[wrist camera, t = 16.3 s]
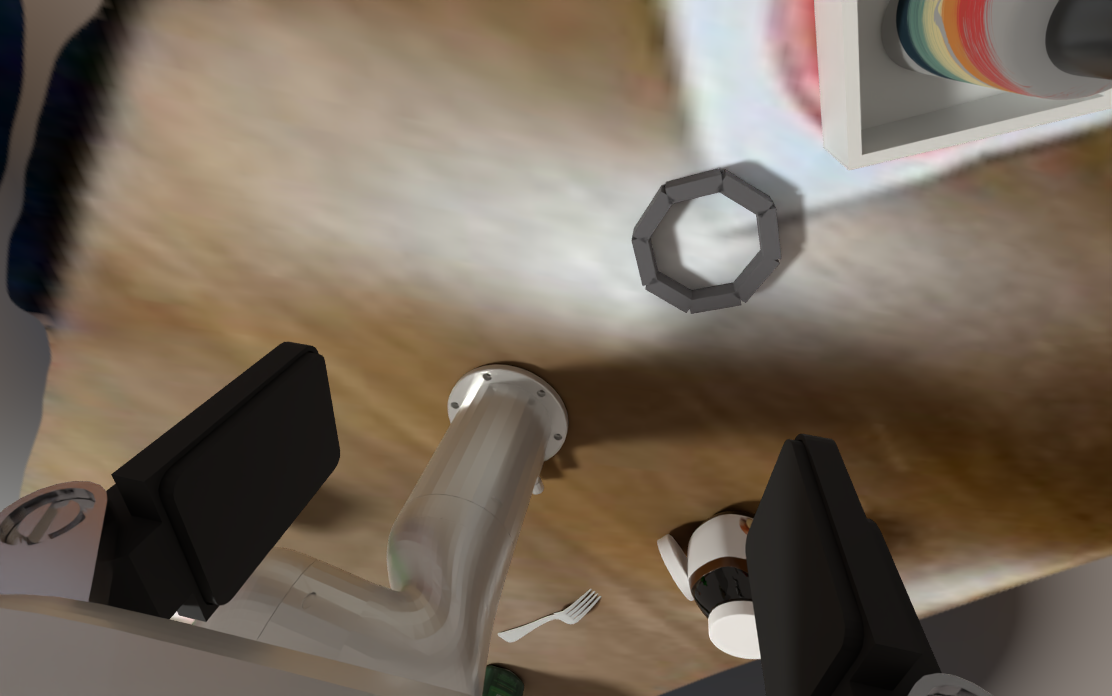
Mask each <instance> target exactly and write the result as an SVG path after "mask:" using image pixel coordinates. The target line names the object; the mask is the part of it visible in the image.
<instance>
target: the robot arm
mask: <svg viewBox="0 0 1112 696" xmlns="http://www.w3.org/2000/svg"><path fill="white" fill-rule="evenodd" d="M448 415H449V419H450V423H451V424H450V426H449V428H448V430H447V431H446V433H445V435H444V437H443V438H442V440H441V442H440V444H439V445H438V447H437V449H436V451H435V452H434V454H433V456H432V458H431V459H430V461H429V463H428V465H427V466H426V468H425V470H424V472H423V473H422V475H421V477H420V479H419V480H418V482H417V484H416V486H415V487H414V489H413V491H412V493H411V494H410V496H409V498H408V500H407V501H406V503H405V505H404V507H403V508H402V510H401V511H400V513H399V515H398V517H397V519H396V520H395V522H394V525H393V527H392V529H391V533H390V536H389V539H388V546H387V569H388V576H389V582H390V587H391V589H389V588H386V587H384V586H381V585H379V586H378V585H376V584H374V583H372V582H369V581H367V580H365V579H362V578H360V577H358V576H355V575H353V574H351V573H349V572H346V571H344V570H342V569H339V568H337V567H335V566H332V565H330V564H328V563H325V562H323V561H321V560H317V559H315V558H313V557H311V556H308V555H306V554H303V553H300V552H297V551H295V550H291V549H287V548H280V547H274V545H275V544H276V543H277V542H278V540H279V539H280V538H281V537H282V535H283V534H284V533H285V531H286V530H287V529H288V528H289V526H290V525H291V524H292V523H293V521H294V520H295V519H296V517H297V516H298V515H299V514H300V512H301V511H302V510H303V509H304V507H305V506H306V505H307V504H308V502H309V501H310V500H311V498H312V497H313V496H314V495H315V493H316V492H317V491H318V490H319V488H320V487H321V486H322V485H323V483H324V482H325V481H326V479H327V478H328V477H329V476H330V474H331V473H332V472H333V471H334V469H335V468H336V466H337V464H338V462H339V458H340V447H339V441H338V435H337V429H336V424H335V418H334V412H333V406H332V400H331V394H330V388H329V382H328V376H327V370H326V364H325V360H324V357H323V356H322V355H320V354H318V351H317V349H316V348H315V347H313V346H310V345H304V344H299V343H293V342H283V343H281V344H280V345H278V346H277V347H276V348H275V349H273V350H272V351H271V352H269V353H268V354H267V355H266V356H264V357H263V358H262V359H260V360H259V361H258V362H256V363H255V364H254V365H253V366H251V367H250V368H249V369H247V370H246V371H245V372H243V373H242V374H241V375H240V376H238V377H237V378H236V379H234V380H233V381H232V382H231V383H229V384H228V385H227V386H225V387H224V388H223V389H221V390H220V391H219V392H218V393H216V394H215V395H214V396H212V397H211V398H210V399H208V400H207V401H206V402H205V403H203V404H202V405H201V406H199V407H198V408H197V409H196V410H194V411H193V412H192V413H190V414H189V415H188V416H186V417H185V418H184V419H183V420H181V421H180V422H179V423H177V424H176V425H175V426H173V427H172V428H171V429H170V430H168V431H167V432H166V433H164V434H163V435H162V436H161V437H159V438H158V439H157V440H155V441H154V442H153V443H151V444H150V445H149V446H148V447H146V448H145V449H144V450H142V451H141V452H140V453H138V454H137V455H136V456H135V457H133V458H132V459H131V460H129V461H128V462H127V463H126V464H124V465H123V466H122V467H120V468H119V469H118V470H116V471H115V472H114V473H113V474H111V475H112V477H113V479H114V481H115V483H116V484H115V485H113V486H112V487H111V488H110V489H108V490H107V491H106V490H105V489H104V488H103V487H102V486H101V485H99V484H95V483H92V482H89V481H72V482H66V483H60V484H56V485H52V486H49V487H46V488H43V489H39V490H37V491H35V492H33V493H31V494H29V495H26V496H24V497H22V498H20V499H19V500H17V501H16V502H14V503H12V504H11V505H9V506H8V507H6V508H5V509H4V510H3V511H2V512H0V696H482V692H483V686H484V679H485V672H486V665H487V658H488V652H489V645H490V639H491V634H492V629H493V624H494V620H495V616H496V612H497V608H498V603H499V600H500V596H501V593H502V589H503V586H504V582H505V579H506V575H507V572H508V569H509V566H510V563H511V559H512V556H513V552H514V549H515V546H516V543H517V540H518V537H519V533H520V530H521V527H522V524H523V521H524V517H525V514H526V511H527V508H528V505H529V502H530V498H531V495H532V493H533V494H540V493H541V492H543V490H544V485H543V483H542V481H541V478H540V477H539V475H540V472H541V469H542V466H543V462H544V461H546V460H548V459H550V458H551V457H553V456H554V455H555V454H556V453H557V452H558V451H559V450H560V449H561V447H562V445H563V443H564V441H565V438H566V435H567V432H568V423H569V422H568V414H567V411H566V408H565V405H564V403H563V401H562V400H561V398H560V396H559V395H558V393H557V392H556V391H555V390H554V389H553V388H552V387H551V386H550V385H549V384H548V383H547V382H545V381H544V380H543V379H542V378H540V377H538V376H537V375H535V374H533V373H531V372H529V371H526V370H524V369H521V368H518V367H514V366H509V365H497V364H494V365H486V366H482V367H478V368H475V369H473V370H471V371H469V372H468V373H466V374H465V375H464V376H463V377H461V378H460V379H459V380H458V382H457V383H456V385H455V386H454V388H453V390H452V392H451V394H450V396H449V400H448ZM745 553H746V561H747V568H748V574H749V581H750V588H751V595H752V602H753V609H754V615H755V622H756V629H757V636H758V643H759V650H760V657H761V663H762V670H763V676H764V683H765V691H766V696H993V695H991V694H990V693H988V692H986V691H985V690H983V689H982V688H980V687H979V686H977V685H976V684H974V683H972V682H969V681H967V680H964V679H962V678H959V677H957V676H954V675H948V674H942V673H941V671H940V668H939V666H938V664H937V661H936V659H935V657H934V654H933V652H932V650H931V647H930V645H929V643H928V640H927V638H926V636H925V633H924V631H923V629H922V626H921V624H920V622H919V619H918V617H917V615H916V612H915V610H914V608H913V605H912V603H911V601H910V598H909V596H908V594H907V591H906V589H905V587H904V584H903V582H902V580H901V577H900V575H899V573H898V570H897V568H896V566H895V563H894V561H893V559H892V556H891V554H890V552H889V549H888V547H887V545H886V542H885V540H884V538H883V536H882V533H881V531H880V529H879V528H878V526H877V524H876V523H875V522H874V521H872V520H871V519H867V518H866V515H865V513H864V511H863V508H862V506H861V503H860V501H859V498H858V496H857V494H856V491H855V489H854V486H853V484H852V481H851V479H850V477H849V474H848V472H847V469H846V467H845V464H844V462H843V460H842V457H841V455H840V452H839V450H838V447H837V445H836V443H835V442H834V440H832V439H828V438H823V437H817V436H811V435H806V434H799V435H798V436H797V437H796V438H795V440H790V439H788V440H786V441H785V443H784V445H783V447H782V449H781V452H780V454H779V457H778V459H777V462H776V464H775V467H774V469H773V472H772V474H771V477H770V479H769V482H768V484H767V487H766V489H765V492H764V494H763V497H762V499H761V502H760V504H759V507H758V509H757V512H756V514H755V516H754V519H753V521H752V524H751V526H750V529H749V531H748V534H747V538H746V544H745ZM176 611H177V612H178V614H179V615H180V616H184V617H188V618H192V619H195V620H194V622H193V624H192V625H191V624H187V623H182V622H178V621H174V620H169V619H170V618H171V617H172V616H173V615H174V614H175V613H176Z"/></svg>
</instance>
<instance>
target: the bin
mask: <svg viewBox="0 0 1112 696" xmlns="http://www.w3.org/2000/svg"><path fill="white" fill-rule="evenodd" d="M889 1H890V0H814V8H815V24H816V40H817V56H818V72H819V88H820V104H821V119H822V135H823V148H824V149H825V150H826V151H827V152H828V153H830V154H831V155H832V156H833V157H834V158H835V159H836V160H838V161H839V162H840V163H841V164H842V165H843V166H844V167H846V168H847V169H848V170H853V169H857V168H861V167H866V166H870V165H874V164H878V163H882V162H887V161H891V160H895V159H899V158H904V157H908V156H912V155H916V154H920V153H925V152H929V151H933V150H937V149H942V148H946V147H950V146H954V145H959V144H963V143H967V142H971V141H975V140H980V139H984V138H988V137H992V136H997V135H1001V134H1005V133H1009V132H1013V131H1018V130H1022V129H1026V128H1030V127H1035V126H1039V125H1043V124H1047V123H1052V122H1056V121H1060V120H1064V119H1068V118H1073V117H1077V116H1081V115H1085V114H1090V113H1094V112H1098V111H1102V110H1106V109H1111V108H1112V88H1111V89H1109V90H1107V91H1104V92H1101V93H1098V94H1095V95H1092V96H1088V97H1083V98H1078V99H1068V100H1052V99H1043V98H1038V97H1032V96H1027V95H1022V94H1017V93H1012V92H1007V91H1003V90H998V89H993V88H989V87H984V86H979V85H974V84H970V83H965V82H960V81H956V80H951V79H946V78H942V77H937V76H932V75H927V74H923V73H918V72H914V71H911V70H908V69H905V68H902V67H900V66H899V65H897V64H896V63H894V62H893V61H892V60H891V59H890V58H889V56H888V55H887V54H886V52H885V50H884V47H883V44H882V39H881V24H882V19H883V15H884V12H885V10H886V7H887V5H888V3H889Z"/></svg>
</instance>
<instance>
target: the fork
mask: <svg viewBox="0 0 1112 696" xmlns="http://www.w3.org/2000/svg"><path fill="white" fill-rule="evenodd" d="M591 590H592V589H590V590H588V591H587V592H586V593H585V594H584V595H583V596H581V597H580V598H579V599H578V600H577V601H575V602H574V603H573V604H572V605H571V606H569V607H568V608H566V609H565V610H564V611H561V612H558V613H553V614H554V615H550V616H547V617H544V618H542V619H539V620H537V621H535V622H532V623H529V624H527V625H524V626H521V627H518V628H515V629H512V630H508V631H505V632H501V633H498V636H500V637H501V638H503V639H504V640H506V641H507V642H514V641H517V640H518V639H520V638H522V637H523V636H525V635H526V634H527V633H529V632H530V631H532V630H534V629H535V628H537V627H538V626H540V625H542V624H544V623H546V622H548V621H550V620H553V619H559V620H561V621H563V622H565V623H567V624H574V623H577V622H578V621H579V620H580V619H581V618H582V617H584V616H585V615H586V613H587V612H588V611H589V610H590V609H591V608H592V607H593V606H594V605H595V604H596V602H597V601H598V600H599V599H600V598H601V596H599V597H598V598H597V599H596V600H595V601H594V602H593V603H592V604H591V605H590V606H589V607H588V608H587V609H586V610H585V611H583V610H584V609H585V608H586V607H587V606H588V605H589V604H590V603H591V602H592V600H593V599H594V598H595V597H596V596H597V595H598V594H596V595H595V596H593V597H592V598H591V599H590V600H589V601H588V602H587V603H586V604H585V605H584V606H583V607H582V608H581V609H580V610H578V609H579V608H580V607H581V606H582V605H583V604H584V603H585V602H586V601H587V600H588V599H589V598H590V597H591V596H592V595H593V594H594V593H595V591H594V592H592V593H591V594H590V595H589V596H588V597H587V598H586V599H585V600H584V601H582V602H581V603H580V604H579V605H578V606H577V607H576V608H574V607H575V606H576V605H577V604H578V603H579V602H580V601H581V600H582V599H583V598H584V597H585V596H586V595H587V594H588V593H589V592H590V591H591ZM573 608H574V609H573ZM572 609H573V610H572ZM570 610H572V611H570ZM577 610H578V611H577ZM569 611H570V612H569ZM576 611H577V612H576ZM582 611H583V612H582ZM568 612H569V613H568ZM574 612H576V613H575V614H573V613H574ZM581 612H582V613H581ZM567 613H568V614H567ZM580 613H581V614H580ZM572 614H573V615H572ZM579 614H580V615H579ZM571 615H572V616H571ZM577 615H579V616H577ZM576 616H577V617H576ZM575 617H576V618H575ZM574 618H575V619H574Z"/></svg>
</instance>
